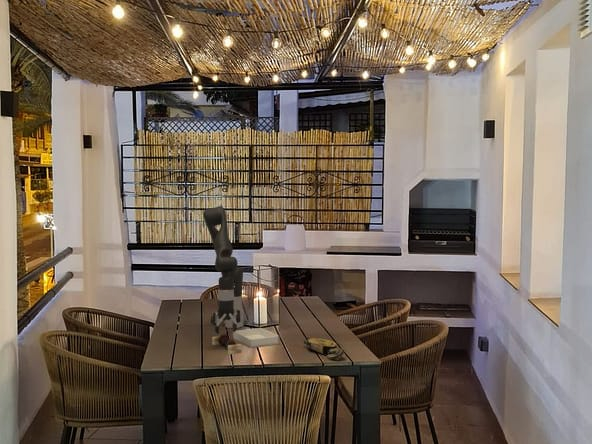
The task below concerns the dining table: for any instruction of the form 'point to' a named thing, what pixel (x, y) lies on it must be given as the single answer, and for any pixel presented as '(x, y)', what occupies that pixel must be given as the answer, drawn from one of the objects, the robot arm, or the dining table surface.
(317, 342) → the pulley block
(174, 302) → the dining table surface
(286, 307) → the dining table surface
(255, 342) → the tray
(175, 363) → the dining table surface
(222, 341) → the bolt
